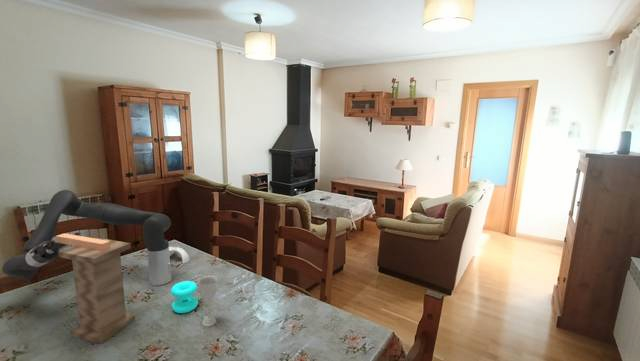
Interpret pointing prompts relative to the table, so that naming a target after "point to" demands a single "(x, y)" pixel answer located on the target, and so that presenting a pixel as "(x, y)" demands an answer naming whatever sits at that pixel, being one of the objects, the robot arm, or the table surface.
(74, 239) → the bar
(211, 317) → the chalice
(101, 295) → the stand
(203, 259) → the table surface
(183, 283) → the cyan spool
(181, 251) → the white arch
